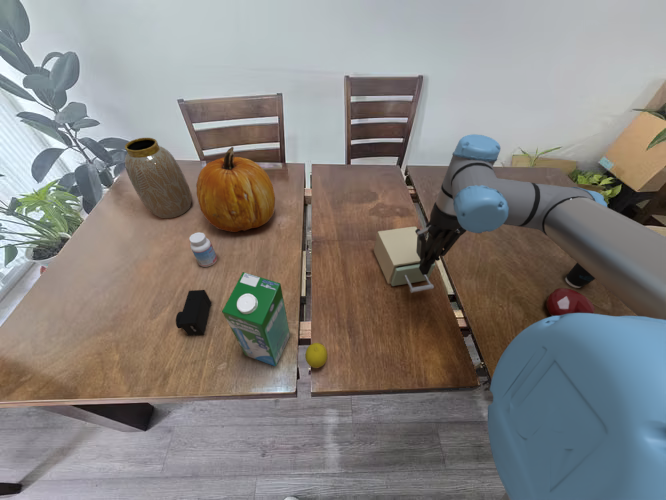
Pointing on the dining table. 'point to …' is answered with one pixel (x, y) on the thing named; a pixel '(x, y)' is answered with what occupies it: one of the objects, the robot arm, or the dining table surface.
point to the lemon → (316, 355)
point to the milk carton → (258, 318)
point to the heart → (568, 302)
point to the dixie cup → (578, 276)
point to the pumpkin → (235, 193)
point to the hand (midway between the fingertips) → (423, 271)
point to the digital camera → (194, 313)
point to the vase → (157, 178)
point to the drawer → (411, 277)
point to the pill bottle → (202, 249)
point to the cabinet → (396, 249)
